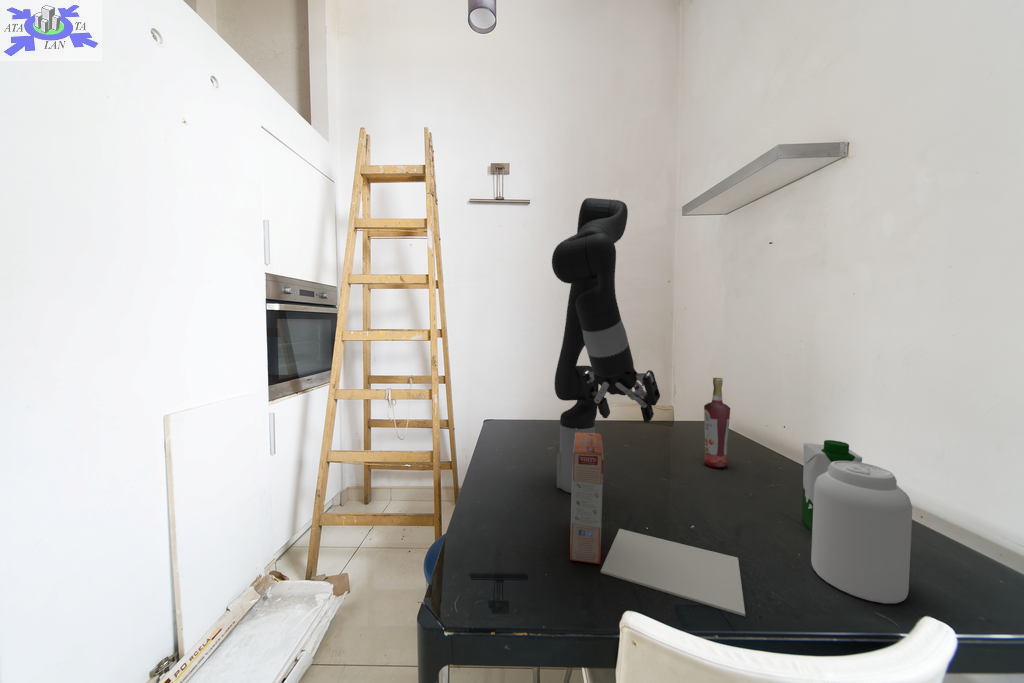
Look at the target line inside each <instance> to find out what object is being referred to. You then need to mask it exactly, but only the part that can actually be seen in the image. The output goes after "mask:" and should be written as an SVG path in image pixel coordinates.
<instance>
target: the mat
mask: <svg viewBox="0 0 1024 683" xmlns="http://www.w3.org/2000/svg"><path fill="white" fill-rule="evenodd" d="M739 564H740V563H739V557H738V556H737V557H736V556H732V555H728V554H724V553H720V552H717V551H716V552H715V551H713V550H712V551H711V550H707V549H703V548H701V547H696V546H692V545H687V544H682V543H680V542H675V541H671V540H667V539H664V538H658V537H655V536H650V535H647V534H642V533H638V532H634V531H631V530H626V529H622V528H618V531H617V534H616V536H615V538H614V540H613V542H612V544H611V547H610V549H609V551H608V553H607V555H606V557H605V560H604V563H603V564H602V567H601V569H600V574H603V575H606V576H610V577H614V578H616V579H620V580H623V581H626V582H631V583H633V584H637V585H640V586H644V587H646V588H649V589H653V590H656V591H659V592H663V593H667V594H670V595H672V596H676V597H678V598H682V599H686V600H689V601H693V602H696V603H699V604H702V605H706V606H709V607H712V608H715V609H719V610H722V611H725V612H728V613H732V614H735V615H738V616H742V617H746V610H745V609H746V608H745V603H744V602H745V600H744V594H743V586H742V578H741V571H740V565H739Z"/></svg>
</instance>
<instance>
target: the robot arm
mask: <svg viewBox="0 0 1024 683" xmlns="http://www.w3.org/2000/svg"><path fill="white" fill-rule="evenodd" d="M628 210H629V209H628V205H627V204H626V203H625V202H624V201H621V200H618V199H607V198H596V197H595V198H594V197H587V198H585V199H584V200H582V203H581V205H580V207H579V212H578V213H579V214H578V220H577V231H576V233H575V234H573V235H572V236H570V237H568V238H566V239H564V240H563V241H561V242H560V243H558V244H557V245H556V246H555V248H554V250H553V253H552V257H551V268H552V272H553V273H554V275H555V277H556V278H557V279H558V280H559V281H561V283H565V284H570V288H569V293H568V294H569V295H568V301H567V308H566V316H565V325H564V332H563V338H562V343H561V348H560V353H559V357H558V362H557V365H556V370H555V373H554V374H555V375H554V391H555V392H554V393H555V395H556V397H557V398H558V399H559V400H561V401H576V402H575V404H574V405H573V406H572V407H571V408H569V409H567V410H565V411H563V412H561V414H560V417H559V418H560V419H559V422H560V423H559V451H558V452H557V454H556V457H557V458H556V488H557V489H561V490H562V491H564V492H566V493H570V494H572V461H573V447H574V439H575V433H576V432H580V433H596V432H595V430H596V429H595V428H596V426H595V424H596V418H597V415H598V412H599V414H600V416H602V418H603V419H608V417H609V416H610V414H611V410H610V406H609V403H608V399H607V397H605V396H606V394H607V393H608V394H609V395H613V396H614V395H620V396H627V397H628V398H629V399H630V400H632V401H635V402H636V403H637V404H638V405H640V411H641V415H642V419H643V422H644V423H645V424H649V423H650V421H651V420H652V419H653V417H654V414H655V413H654V410H653V409H654V408H653V406H656V405H657V403H658V402H659V399H660V398H661V392H660V390H659V386H658V384H657V380H656V376H655V374H654V372H653V371H652V370H651V369H648V370H647V371H646V372H643V373H641V372H640V373H638V372H637V371H636V369H635V367H634V359H633V356H632V351H631V347H630V343H629V338H628V336H627V334H628V333H627V331H626V328H625V326H624V323H623V320H622V318H621V313H620V310H619V305H618V301H617V295H616V281H615V279H616V266H617V265H616V264H617V248H616V245H615V244H616V243H617V242H618V241H620V239H622V237H623V235H624V233H625V231H626V226H627V223H628V216H629V213H628ZM584 347H585V348H584ZM584 349H586V353H587V355H588V359H589V363H590V365H578V360H579V358H580V355H581V353H582V351H583V350H584ZM639 382H640V383H639ZM633 389H634V391H633ZM644 389H645V390H644Z"/></svg>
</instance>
